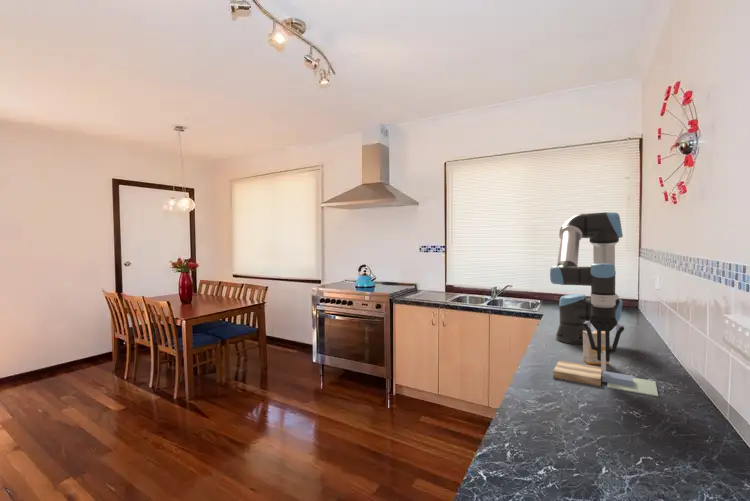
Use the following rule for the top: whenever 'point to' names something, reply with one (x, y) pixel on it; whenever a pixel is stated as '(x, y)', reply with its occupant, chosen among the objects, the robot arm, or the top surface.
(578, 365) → the board
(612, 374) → the blue rectangular block
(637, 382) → the mat
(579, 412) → the top surface
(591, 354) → the supplement box
